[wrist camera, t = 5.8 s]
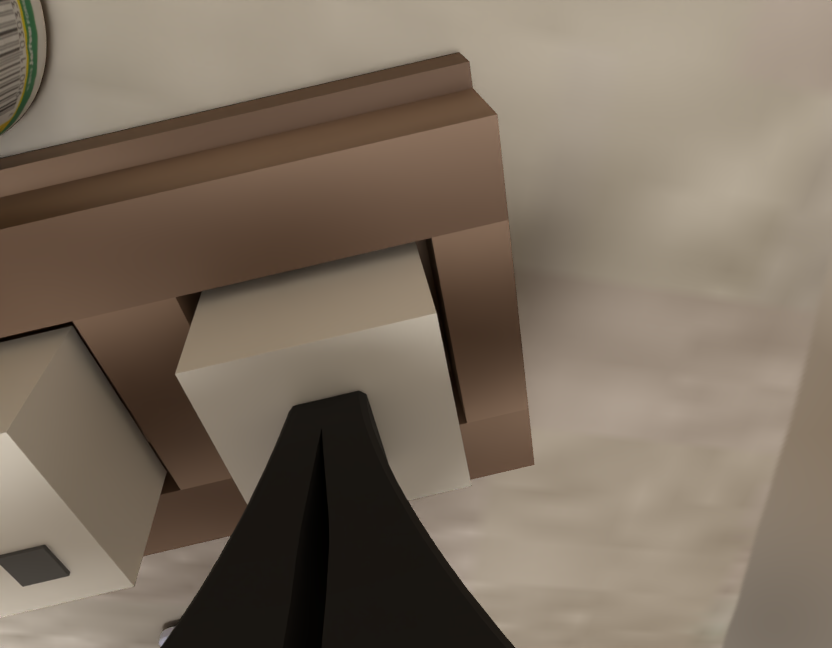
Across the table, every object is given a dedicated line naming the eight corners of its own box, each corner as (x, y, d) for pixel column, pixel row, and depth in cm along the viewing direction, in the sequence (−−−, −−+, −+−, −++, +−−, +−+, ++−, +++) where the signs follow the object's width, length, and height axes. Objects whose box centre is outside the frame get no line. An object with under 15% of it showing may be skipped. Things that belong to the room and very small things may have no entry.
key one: (446, 391, 15) (472, 489, 12) (273, 432, 15) (263, 538, 12) (413, 234, 12) (436, 316, 10) (204, 283, 12) (173, 376, 10)
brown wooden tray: (506, 401, 18) (535, 477, 16) (-201, 566, 18) (-284, 669, 15) (459, 52, 12) (494, 84, 10) (-578, 292, 12) (-805, 385, 10)
